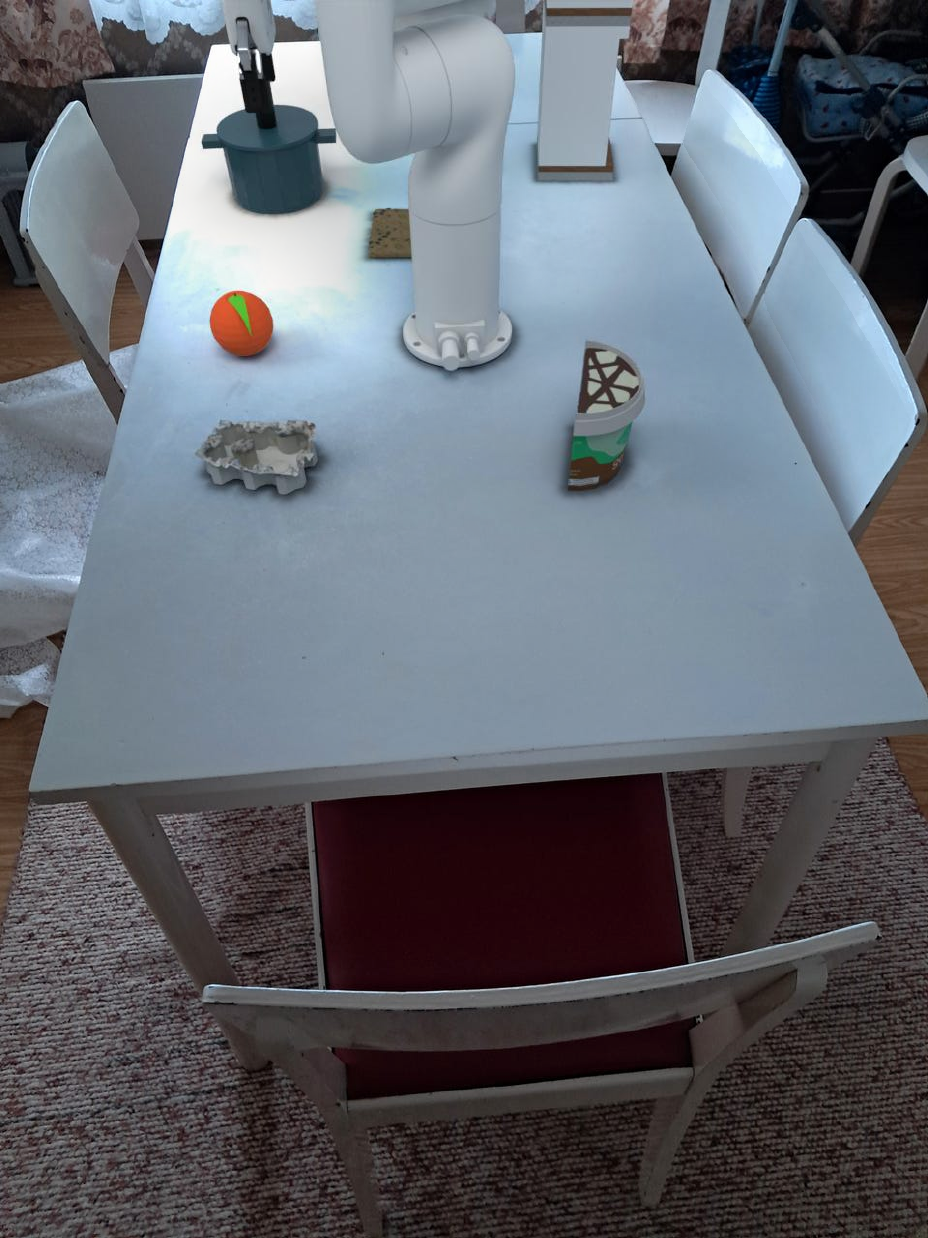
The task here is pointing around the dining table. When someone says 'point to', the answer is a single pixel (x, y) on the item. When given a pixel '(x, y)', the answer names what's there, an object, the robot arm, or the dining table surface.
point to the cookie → (390, 233)
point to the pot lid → (267, 127)
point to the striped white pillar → (578, 87)
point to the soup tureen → (450, 12)
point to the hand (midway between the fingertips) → (261, 95)
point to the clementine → (241, 323)
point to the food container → (604, 415)
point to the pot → (275, 174)
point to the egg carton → (260, 453)
